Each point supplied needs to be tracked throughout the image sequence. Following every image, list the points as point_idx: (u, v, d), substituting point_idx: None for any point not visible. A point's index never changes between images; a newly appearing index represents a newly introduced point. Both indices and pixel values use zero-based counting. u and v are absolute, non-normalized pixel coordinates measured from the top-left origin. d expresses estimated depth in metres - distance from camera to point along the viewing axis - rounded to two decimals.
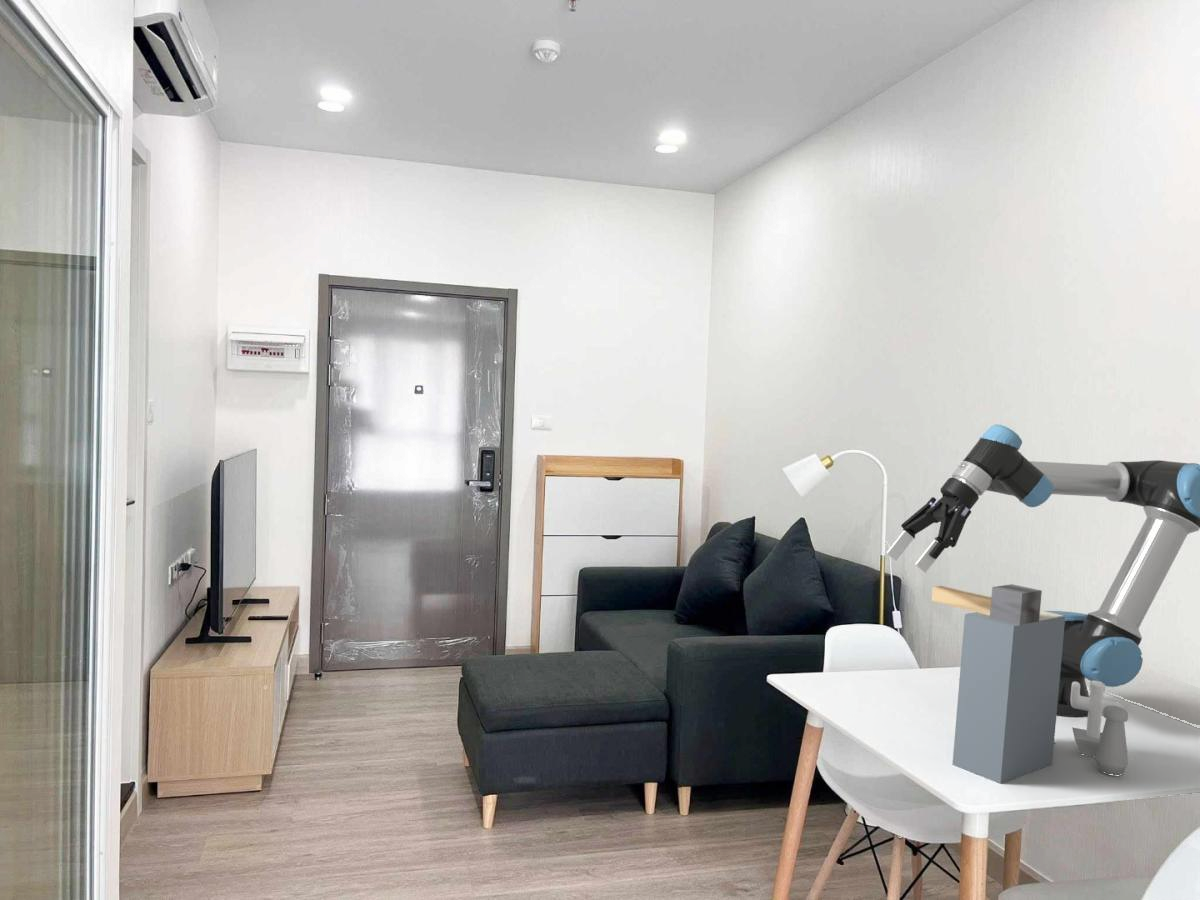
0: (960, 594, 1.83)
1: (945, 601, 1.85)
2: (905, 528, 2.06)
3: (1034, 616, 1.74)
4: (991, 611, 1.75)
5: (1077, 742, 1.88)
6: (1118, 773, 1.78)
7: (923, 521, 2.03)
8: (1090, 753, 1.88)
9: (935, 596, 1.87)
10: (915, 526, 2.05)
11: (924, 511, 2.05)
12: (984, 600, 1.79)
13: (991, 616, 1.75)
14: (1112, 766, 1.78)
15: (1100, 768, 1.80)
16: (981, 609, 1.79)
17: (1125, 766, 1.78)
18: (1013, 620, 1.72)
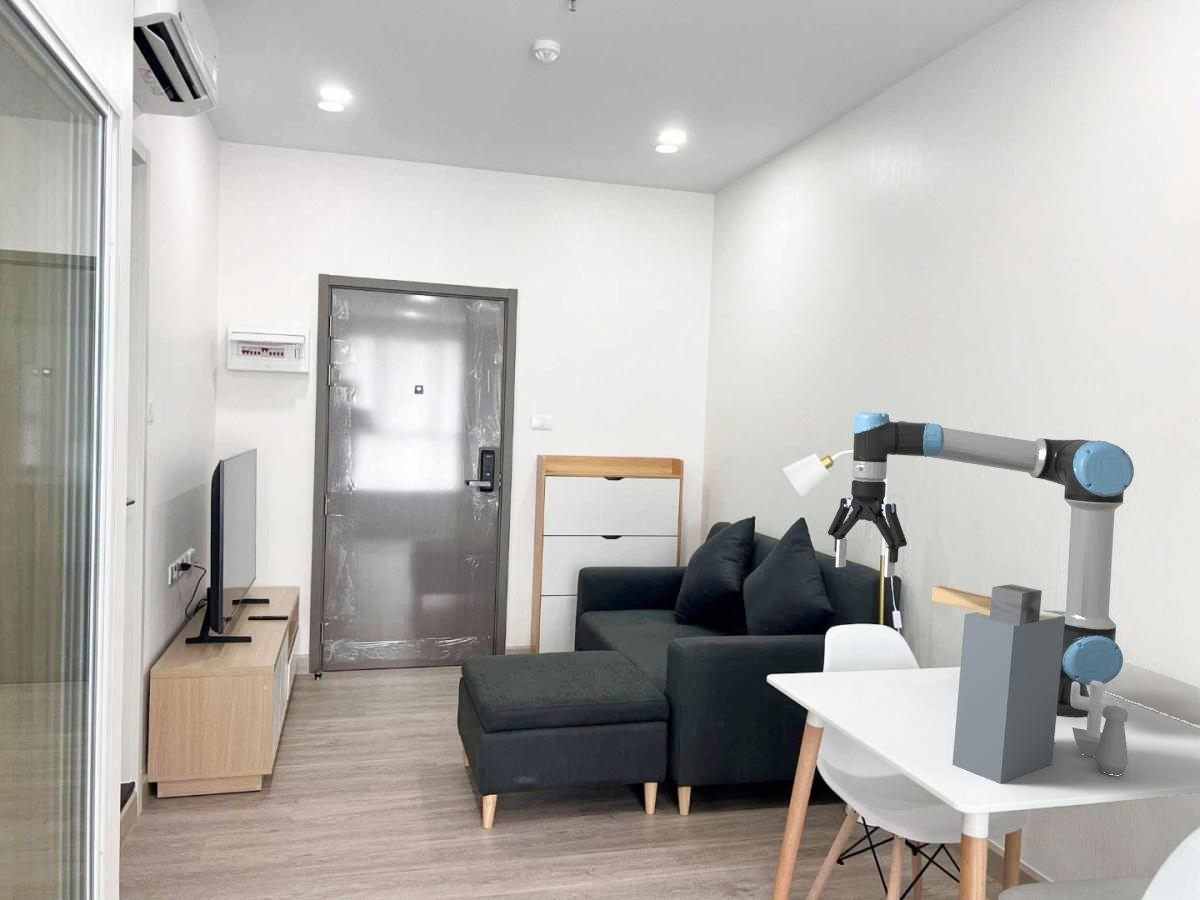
0: (960, 594, 1.83)
1: (945, 601, 1.85)
2: (836, 536, 2.15)
3: (1034, 616, 1.74)
4: (991, 611, 1.75)
5: (1077, 742, 1.88)
6: (1118, 773, 1.78)
7: (850, 524, 2.13)
8: (1090, 753, 1.88)
9: (935, 596, 1.87)
10: (844, 531, 2.14)
11: (842, 513, 2.15)
12: (984, 600, 1.79)
13: (991, 616, 1.75)
14: (1112, 766, 1.78)
15: (1100, 768, 1.80)
16: (981, 609, 1.79)
17: (1125, 766, 1.78)
18: (1013, 620, 1.72)
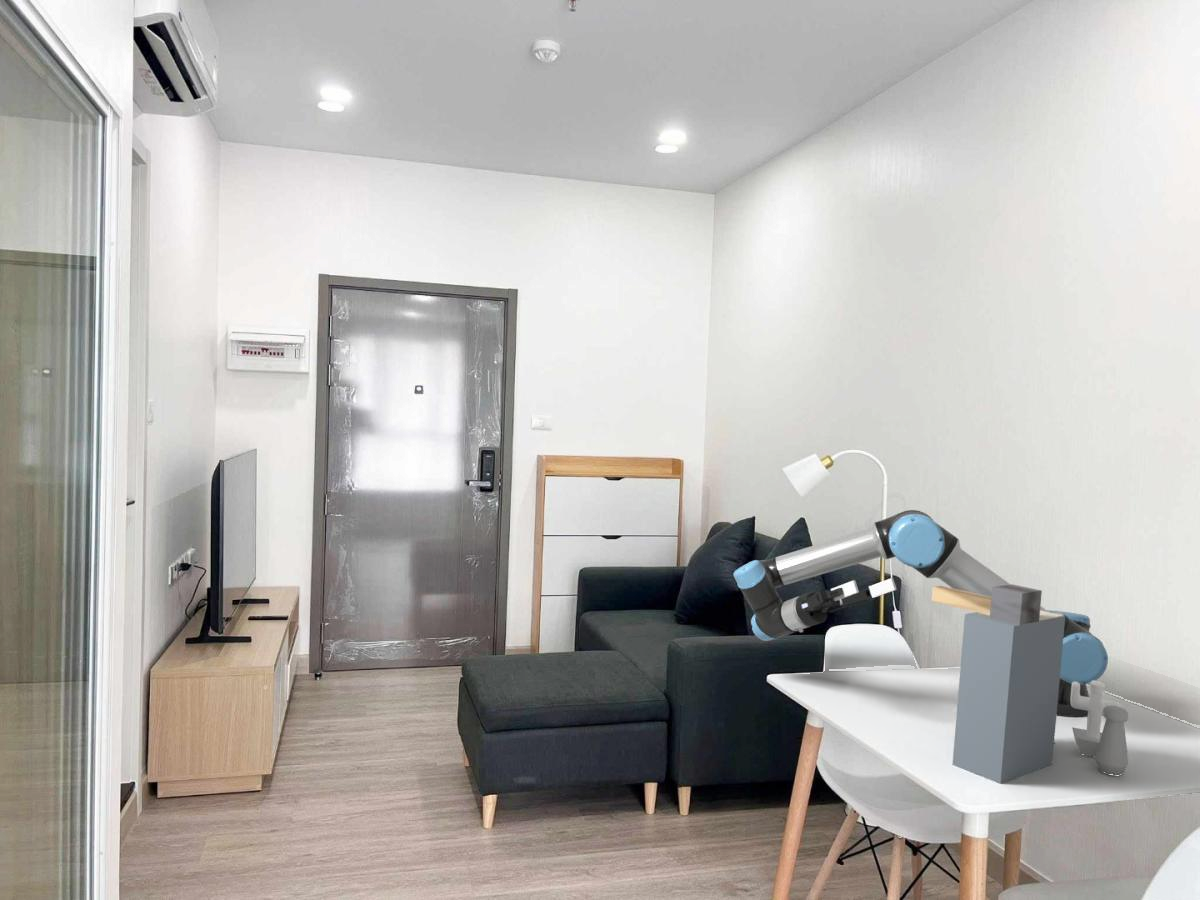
0: (960, 594, 1.83)
1: (945, 601, 1.85)
2: (872, 597, 2.11)
3: (1034, 616, 1.74)
4: (991, 611, 1.75)
5: (1077, 742, 1.88)
6: (1118, 773, 1.78)
7: (852, 599, 2.12)
8: (1090, 753, 1.88)
9: (935, 596, 1.87)
10: (862, 596, 2.11)
11: None
12: (984, 600, 1.79)
13: (991, 616, 1.75)
14: (1112, 766, 1.78)
15: (1100, 768, 1.80)
16: (981, 609, 1.79)
17: (1125, 766, 1.78)
18: (1013, 620, 1.72)
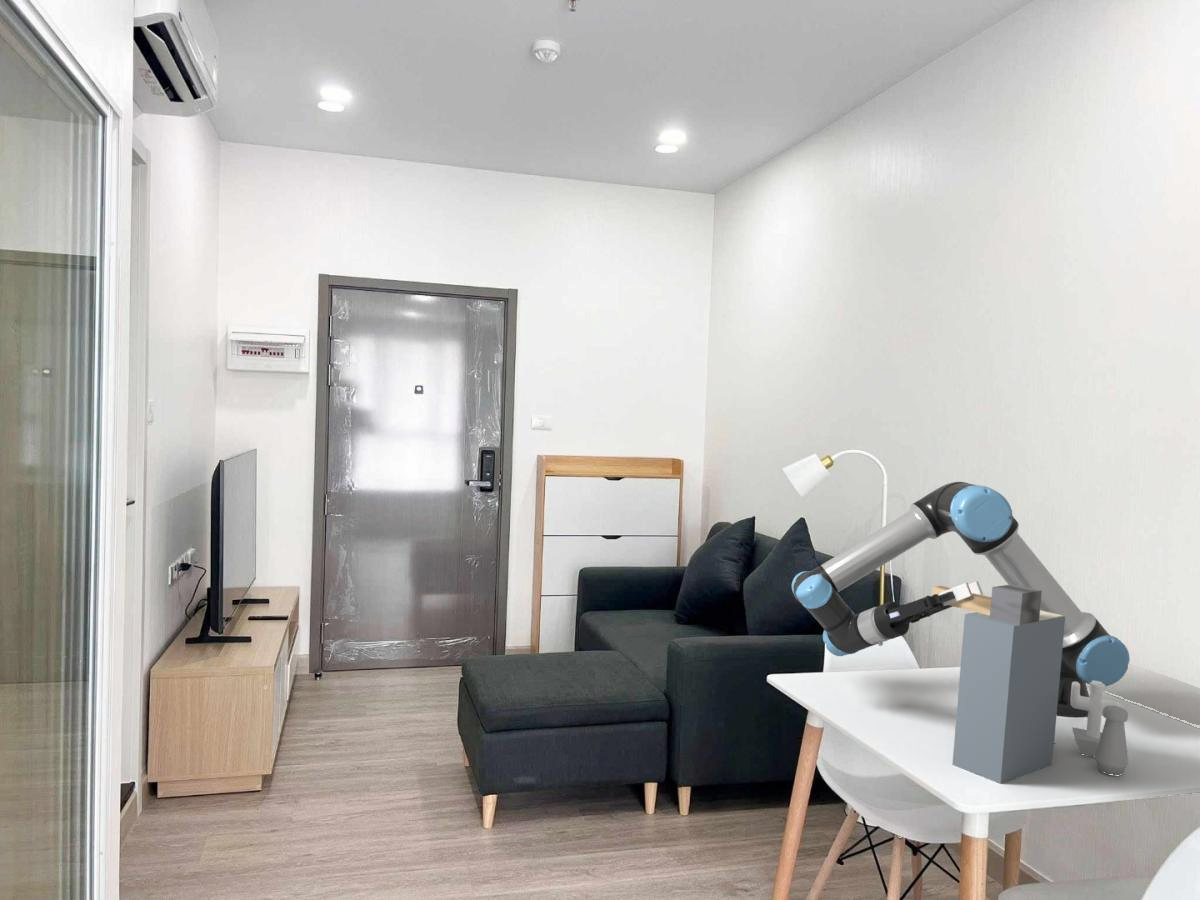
0: None
1: None
2: None
3: (1034, 616, 1.74)
4: (991, 611, 1.75)
5: (1077, 742, 1.88)
6: (1118, 773, 1.78)
7: None
8: (1090, 753, 1.88)
9: None
10: (942, 604, 1.90)
11: None
12: (984, 600, 1.79)
13: (991, 616, 1.75)
14: (1112, 766, 1.78)
15: (1100, 768, 1.80)
16: (981, 609, 1.79)
17: (1125, 766, 1.78)
18: (1013, 620, 1.72)
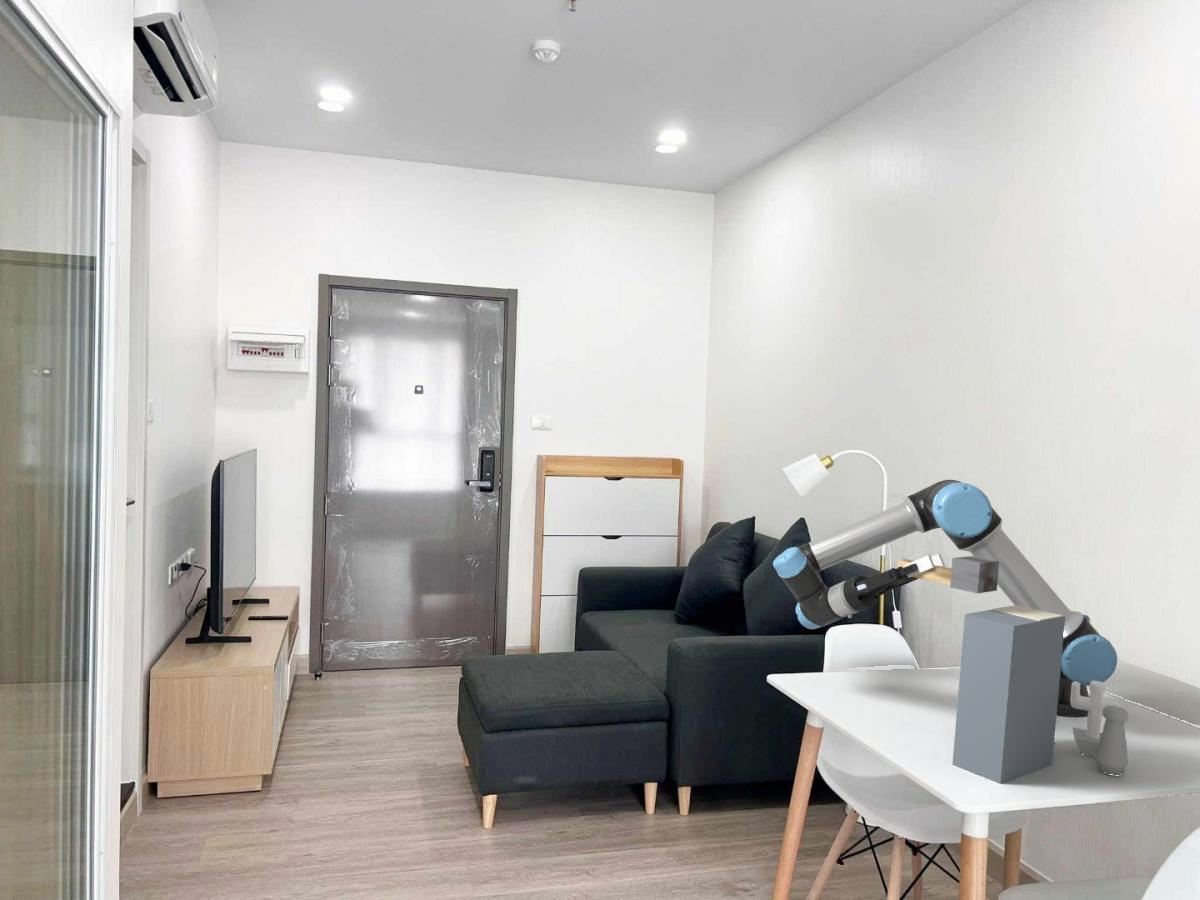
0: None
1: None
2: None
3: (992, 585, 1.83)
4: (951, 581, 1.84)
5: (1077, 742, 1.88)
6: (1118, 773, 1.78)
7: (898, 580, 2.00)
8: (1090, 753, 1.88)
9: None
10: (907, 576, 1.99)
11: None
12: (945, 571, 1.88)
13: (951, 586, 1.84)
14: (1112, 766, 1.78)
15: (1100, 768, 1.80)
16: (943, 579, 1.88)
17: (1125, 766, 1.78)
18: (971, 589, 1.81)
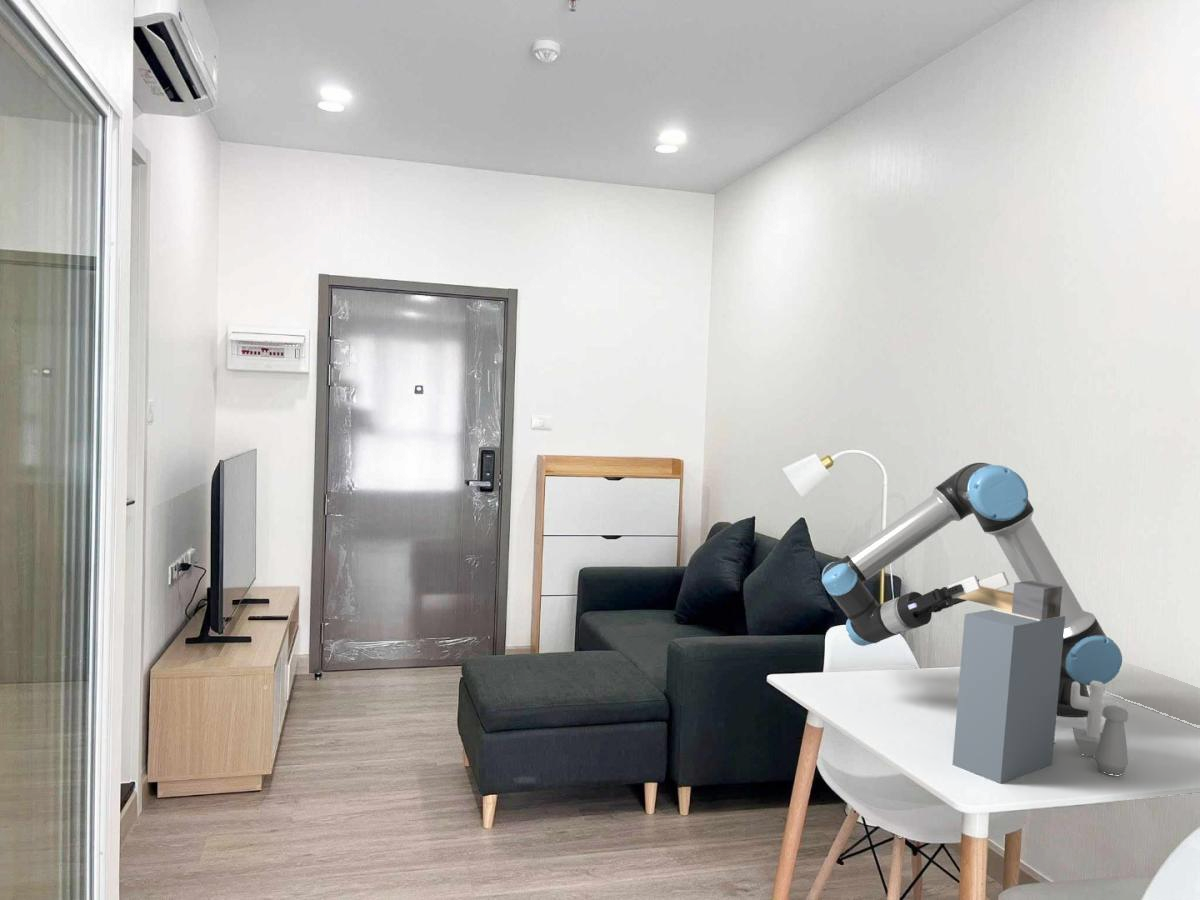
0: (982, 590, 1.88)
1: (967, 597, 1.90)
2: None
3: (1055, 611, 1.78)
4: (1013, 607, 1.80)
5: (1077, 742, 1.88)
6: (1118, 773, 1.78)
7: None
8: (1090, 753, 1.88)
9: None
10: None
11: None
12: (1006, 596, 1.83)
13: (1013, 611, 1.80)
14: (1112, 766, 1.78)
15: (1100, 768, 1.80)
16: (1003, 604, 1.84)
17: (1125, 766, 1.78)
18: (1035, 615, 1.76)
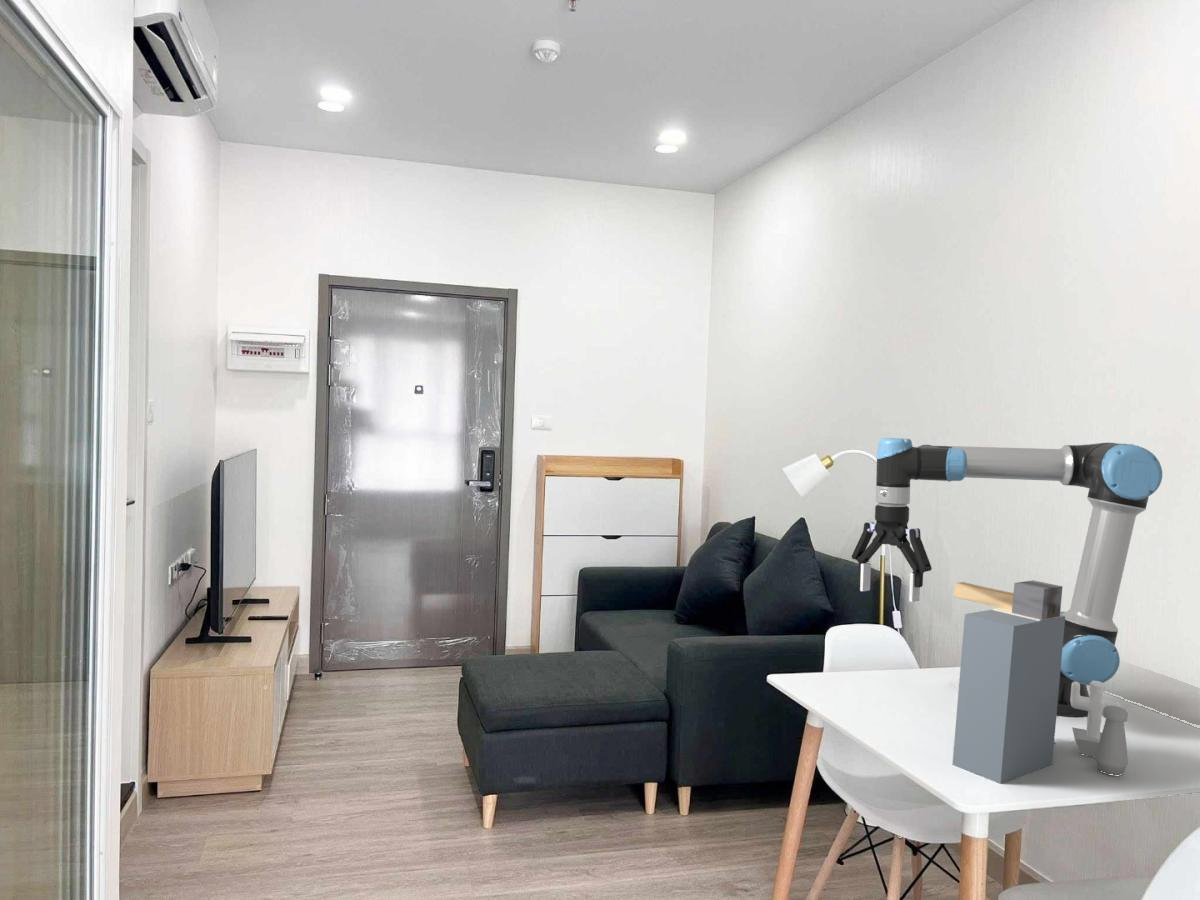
0: (982, 590, 1.88)
1: (967, 597, 1.90)
2: (860, 561, 2.17)
3: (1055, 611, 1.78)
4: (1013, 607, 1.80)
5: (1077, 742, 1.88)
6: (1118, 773, 1.78)
7: (874, 549, 2.15)
8: (1090, 753, 1.88)
9: (957, 592, 1.92)
10: (868, 555, 2.16)
11: (866, 538, 2.16)
12: (1006, 596, 1.83)
13: (1013, 611, 1.80)
14: (1112, 766, 1.78)
15: (1100, 768, 1.80)
16: (1003, 604, 1.84)
17: (1125, 766, 1.78)
18: (1035, 615, 1.76)
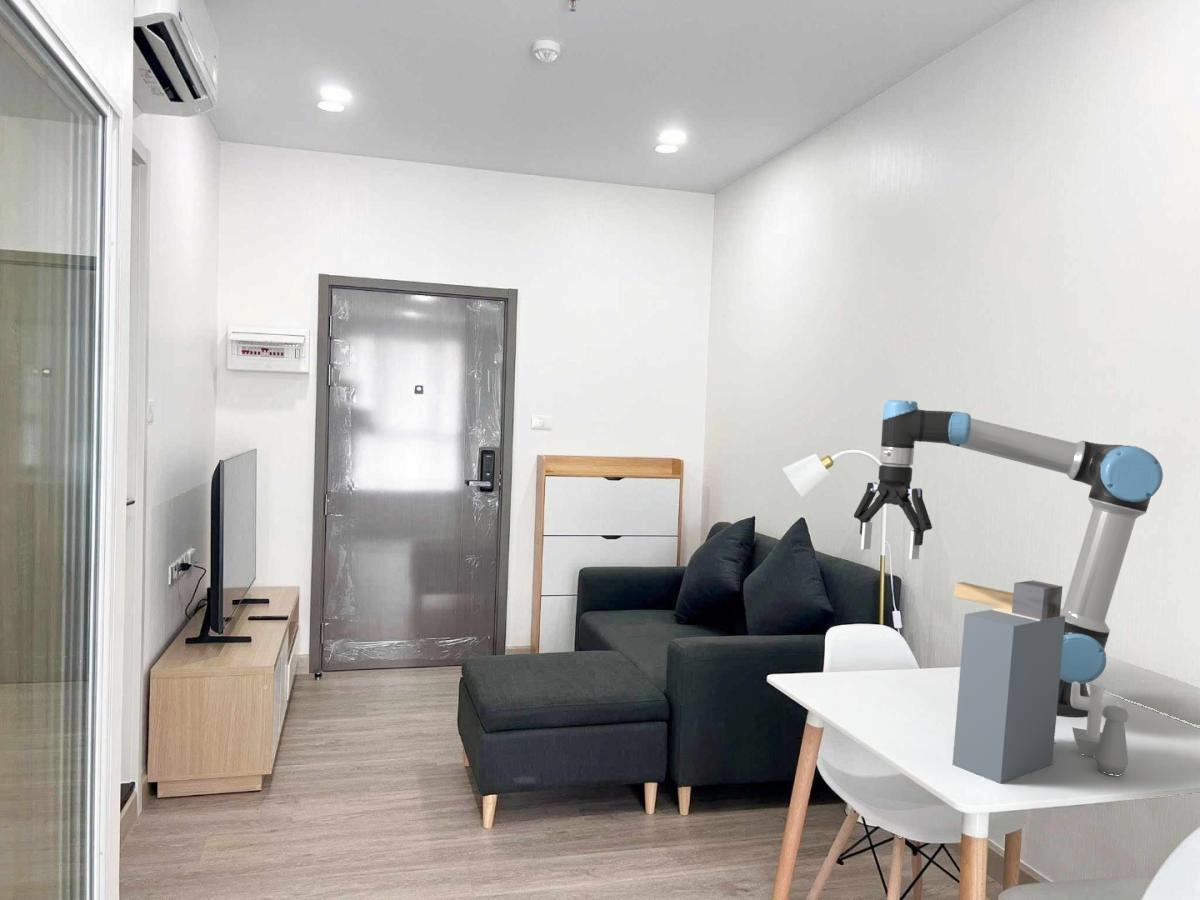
0: (982, 590, 1.88)
1: (967, 597, 1.90)
2: (862, 520, 2.22)
3: (1055, 611, 1.78)
4: (1013, 607, 1.80)
5: (1077, 742, 1.88)
6: (1118, 773, 1.78)
7: (876, 508, 2.20)
8: (1090, 753, 1.88)
9: (957, 592, 1.92)
10: (870, 514, 2.22)
11: (869, 497, 2.22)
12: (1006, 596, 1.83)
13: (1013, 611, 1.80)
14: (1112, 766, 1.78)
15: (1100, 768, 1.80)
16: (1003, 604, 1.84)
17: (1125, 766, 1.78)
18: (1035, 615, 1.76)
